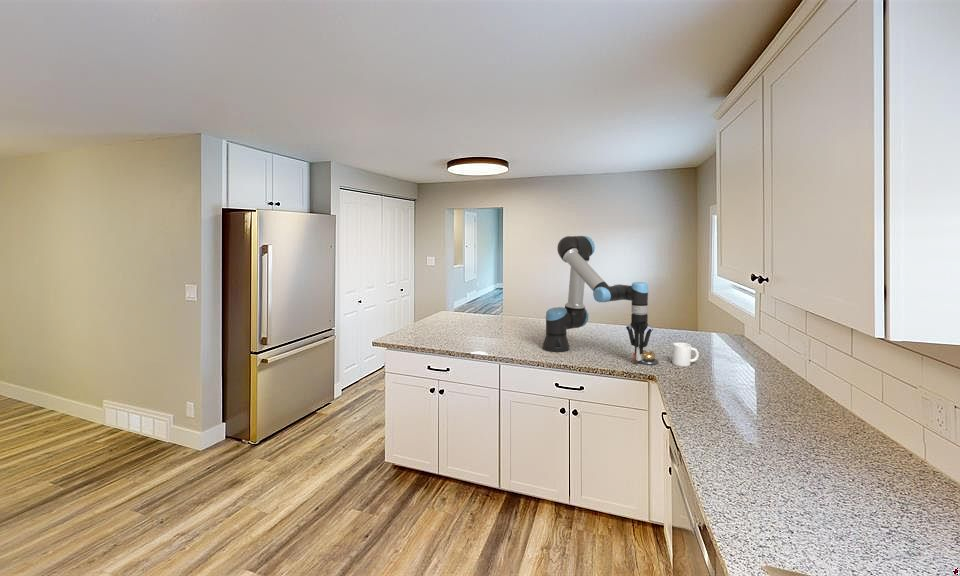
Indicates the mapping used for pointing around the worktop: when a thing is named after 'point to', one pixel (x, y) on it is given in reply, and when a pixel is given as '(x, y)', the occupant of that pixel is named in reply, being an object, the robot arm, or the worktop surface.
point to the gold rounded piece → (645, 356)
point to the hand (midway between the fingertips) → (638, 359)
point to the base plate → (649, 362)
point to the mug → (683, 354)
